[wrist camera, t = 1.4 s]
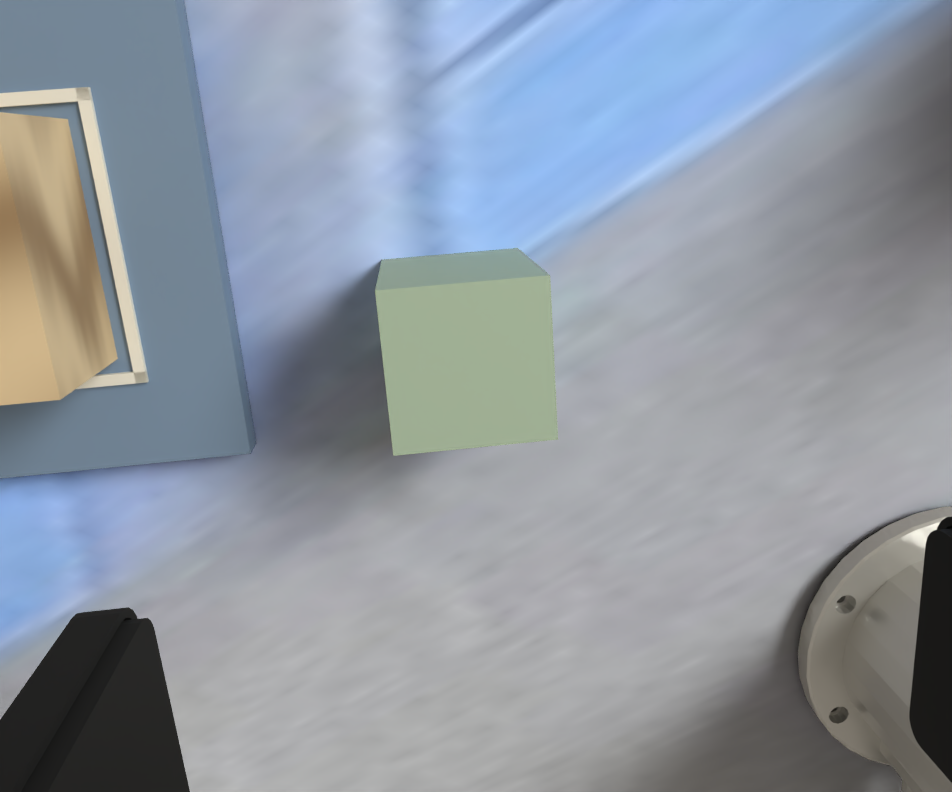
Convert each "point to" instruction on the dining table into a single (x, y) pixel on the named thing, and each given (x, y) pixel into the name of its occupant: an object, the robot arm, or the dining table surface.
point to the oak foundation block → (46, 267)
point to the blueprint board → (132, 238)
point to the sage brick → (467, 350)
